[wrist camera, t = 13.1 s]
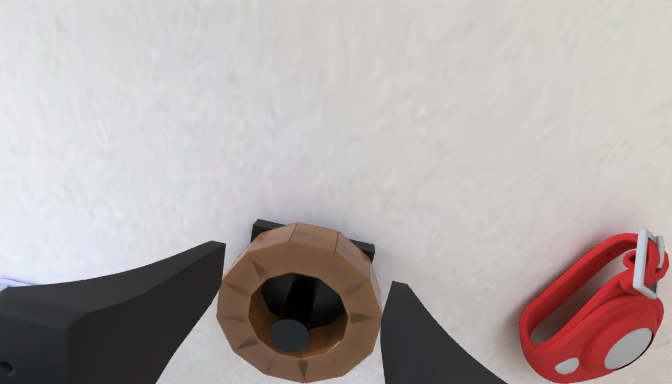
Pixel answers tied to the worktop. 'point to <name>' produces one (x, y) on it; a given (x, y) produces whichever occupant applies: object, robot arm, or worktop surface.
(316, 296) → the rack
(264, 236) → the ring
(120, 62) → the worktop surface
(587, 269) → the tracker holder
